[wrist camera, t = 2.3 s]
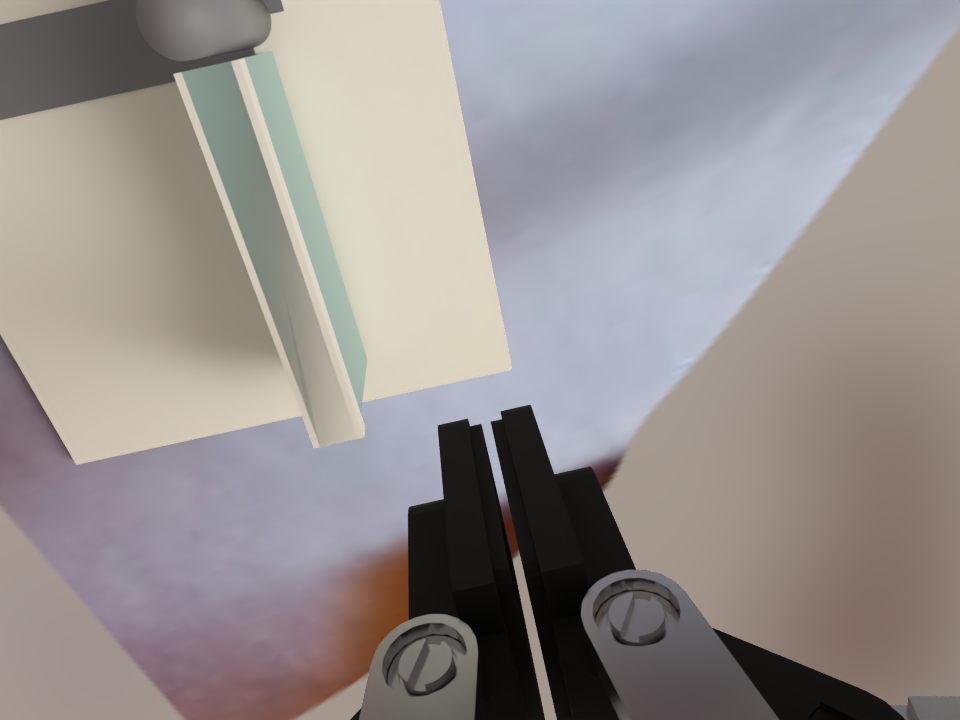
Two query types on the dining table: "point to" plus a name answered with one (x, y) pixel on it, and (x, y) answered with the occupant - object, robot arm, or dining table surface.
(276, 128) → the pale open channel
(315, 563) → the dining table surface
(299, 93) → the card
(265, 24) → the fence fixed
